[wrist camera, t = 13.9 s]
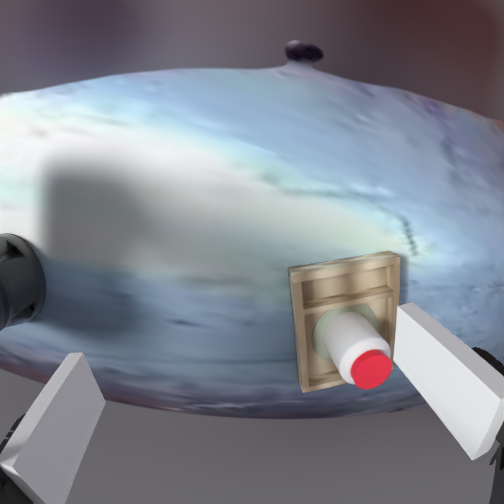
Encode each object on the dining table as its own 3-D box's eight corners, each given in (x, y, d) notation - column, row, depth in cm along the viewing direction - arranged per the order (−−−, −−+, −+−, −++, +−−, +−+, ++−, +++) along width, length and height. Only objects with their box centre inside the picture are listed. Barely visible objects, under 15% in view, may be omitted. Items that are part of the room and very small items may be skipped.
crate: (298, 380, 50) (302, 392, 46) (288, 268, 44) (292, 275, 41) (385, 359, 50) (393, 369, 47) (389, 250, 45) (400, 256, 42)
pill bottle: (332, 362, 48) (355, 404, 37) (315, 327, 46) (337, 368, 35) (373, 338, 48) (404, 376, 37) (359, 302, 46) (392, 336, 35)
